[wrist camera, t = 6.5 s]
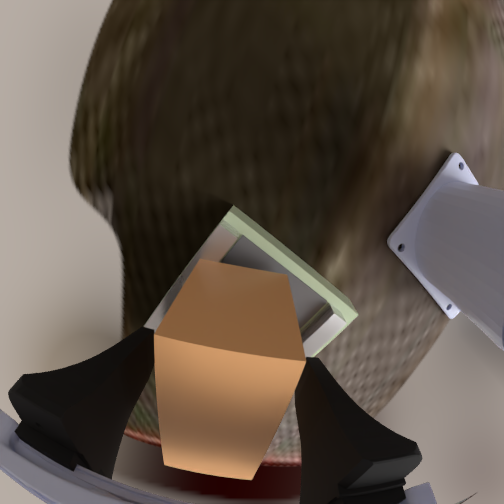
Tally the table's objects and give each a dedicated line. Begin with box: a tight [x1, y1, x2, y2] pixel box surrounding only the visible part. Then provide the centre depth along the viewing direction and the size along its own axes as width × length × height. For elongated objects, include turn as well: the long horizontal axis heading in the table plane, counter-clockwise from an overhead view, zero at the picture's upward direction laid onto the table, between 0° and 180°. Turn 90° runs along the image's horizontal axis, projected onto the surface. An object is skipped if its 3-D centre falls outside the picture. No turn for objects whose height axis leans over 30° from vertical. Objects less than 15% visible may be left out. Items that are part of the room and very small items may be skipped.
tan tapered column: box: [154, 259, 306, 480], centre depth 11 cm, size 4×9×6 cm, turn 170°
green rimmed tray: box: [143, 205, 359, 357], centre depth 15 cm, size 9×10×3 cm
